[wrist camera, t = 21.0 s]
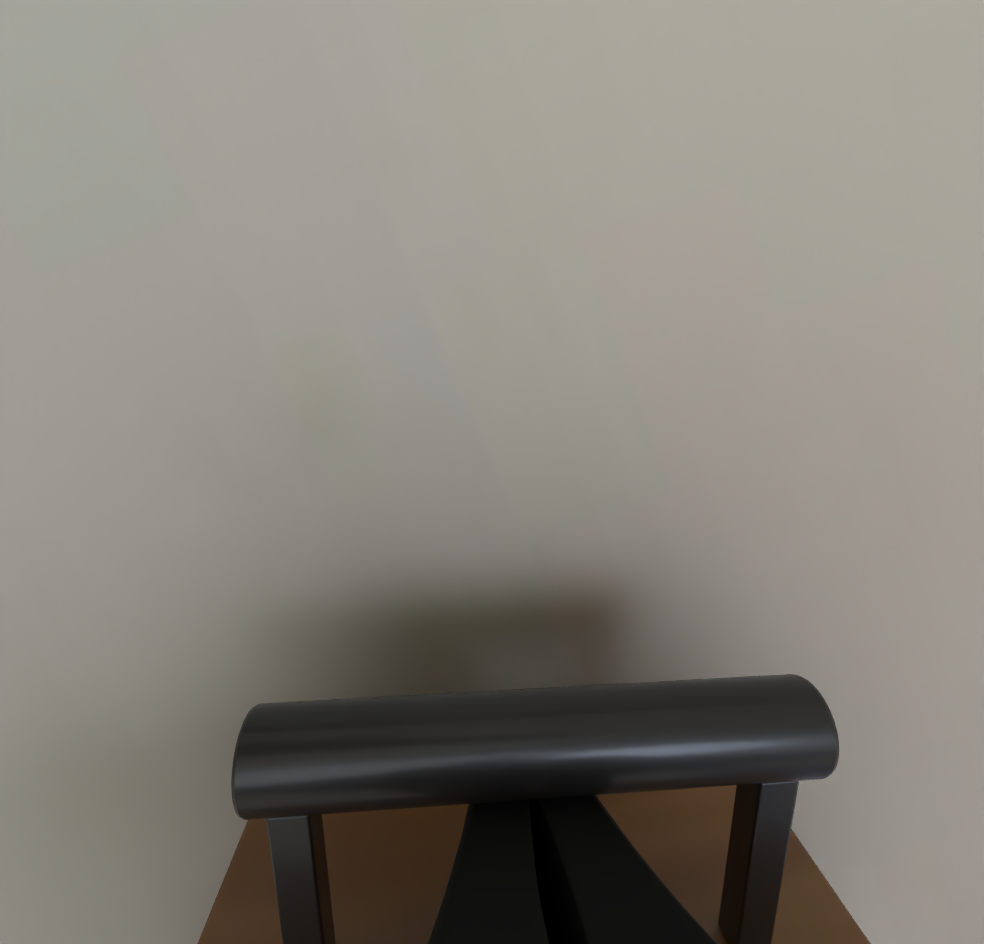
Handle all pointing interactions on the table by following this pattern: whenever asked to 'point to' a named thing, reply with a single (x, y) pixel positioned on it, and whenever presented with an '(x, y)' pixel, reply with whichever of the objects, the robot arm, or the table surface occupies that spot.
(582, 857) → the robot arm
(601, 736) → the drawer
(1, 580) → the table surface
